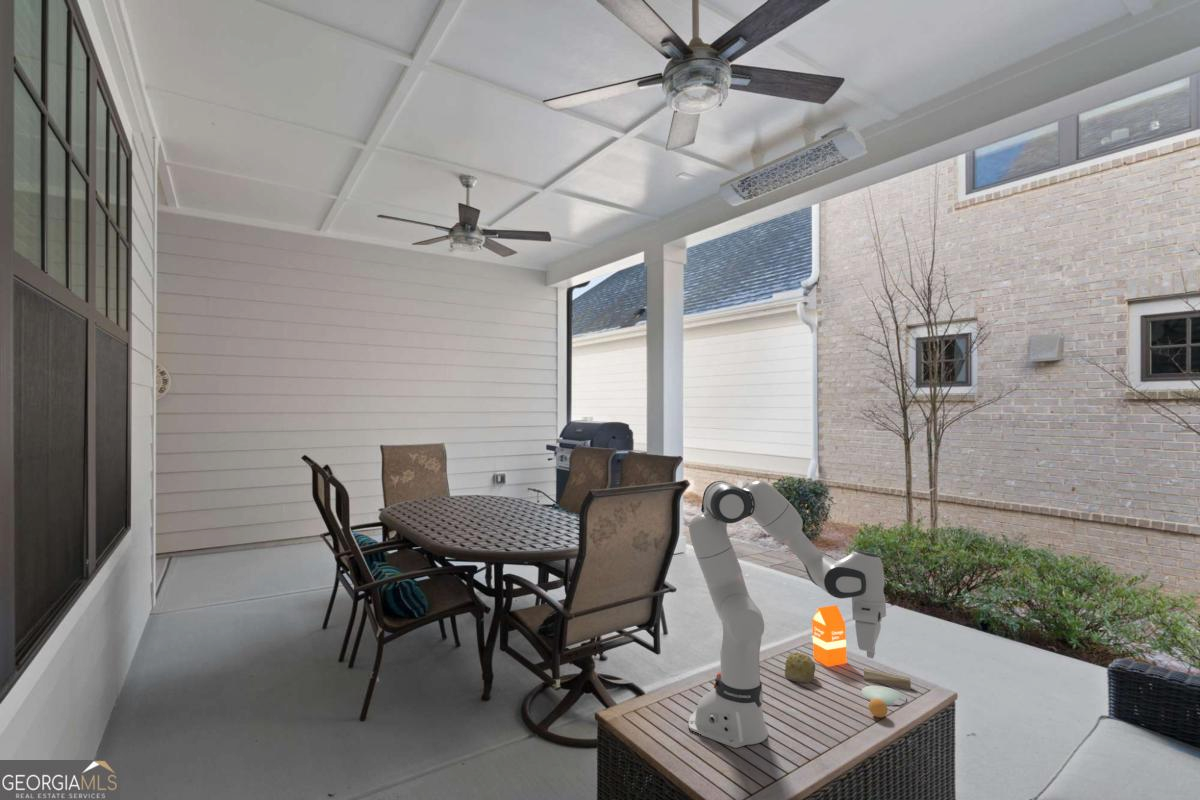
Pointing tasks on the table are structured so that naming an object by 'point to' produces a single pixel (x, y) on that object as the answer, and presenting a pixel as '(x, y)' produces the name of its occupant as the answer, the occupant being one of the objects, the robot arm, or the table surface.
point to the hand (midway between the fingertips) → (871, 656)
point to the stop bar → (887, 679)
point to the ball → (878, 708)
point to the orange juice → (829, 636)
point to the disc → (882, 694)
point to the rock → (799, 668)
